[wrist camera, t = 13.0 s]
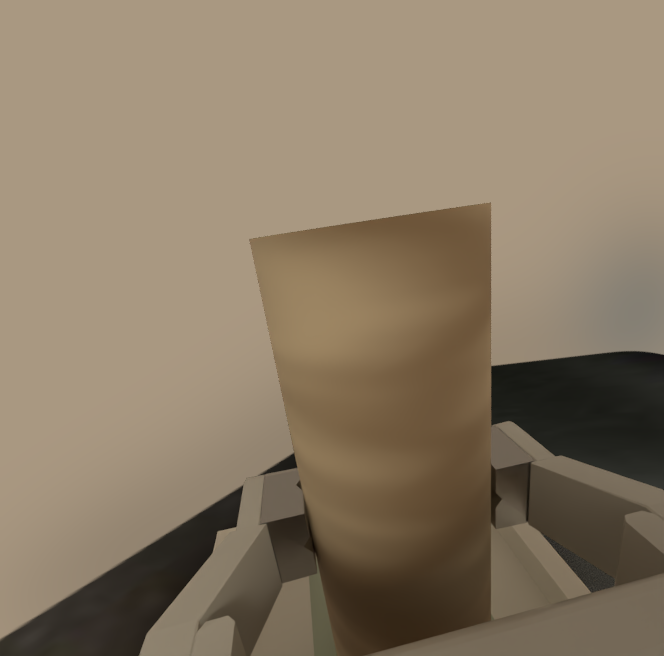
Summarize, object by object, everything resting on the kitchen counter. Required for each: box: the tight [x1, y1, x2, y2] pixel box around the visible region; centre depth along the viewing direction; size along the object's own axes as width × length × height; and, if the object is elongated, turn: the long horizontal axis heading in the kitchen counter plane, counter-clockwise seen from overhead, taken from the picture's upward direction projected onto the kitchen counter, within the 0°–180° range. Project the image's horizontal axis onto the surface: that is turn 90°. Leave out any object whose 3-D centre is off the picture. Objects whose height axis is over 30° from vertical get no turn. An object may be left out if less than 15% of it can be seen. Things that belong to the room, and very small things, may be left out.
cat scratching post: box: [250, 203, 494, 656], centre depth 8 cm, size 6×8×15 cm
